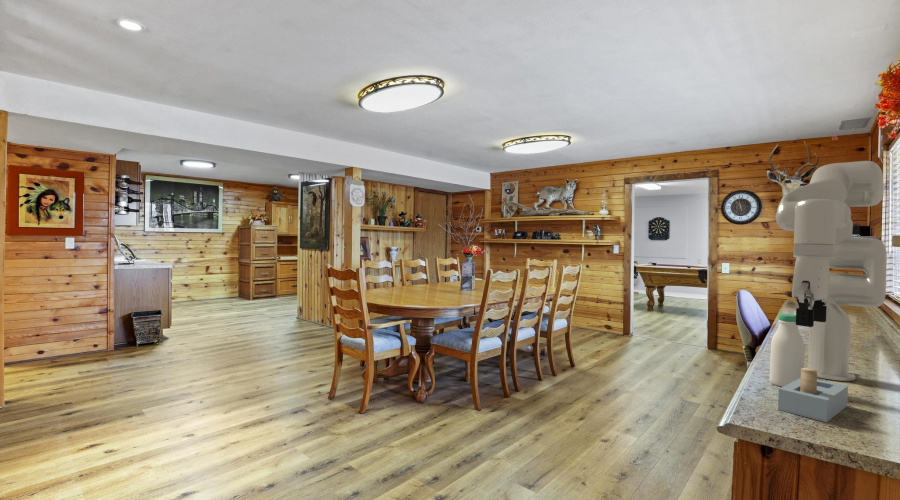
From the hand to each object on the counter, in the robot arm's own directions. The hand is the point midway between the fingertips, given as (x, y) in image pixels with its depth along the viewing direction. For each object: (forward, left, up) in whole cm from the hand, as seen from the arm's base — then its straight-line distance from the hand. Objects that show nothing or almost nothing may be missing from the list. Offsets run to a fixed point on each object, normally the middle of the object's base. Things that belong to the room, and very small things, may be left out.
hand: (811, 323), depth 104 cm
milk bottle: (-20, -10, -21) cm, 31 cm away
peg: (0, 0, -21) cm, 21 cm away
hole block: (-4, 0, -21) cm, 21 cm away
